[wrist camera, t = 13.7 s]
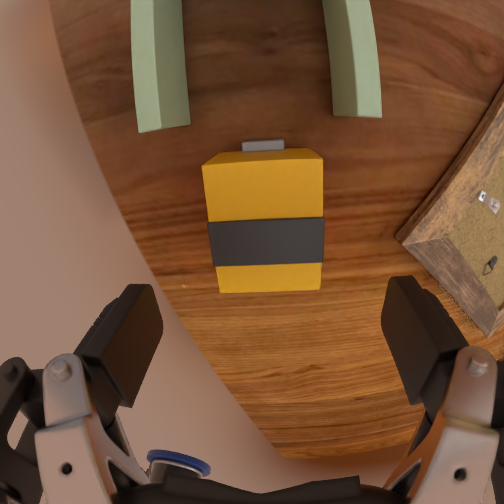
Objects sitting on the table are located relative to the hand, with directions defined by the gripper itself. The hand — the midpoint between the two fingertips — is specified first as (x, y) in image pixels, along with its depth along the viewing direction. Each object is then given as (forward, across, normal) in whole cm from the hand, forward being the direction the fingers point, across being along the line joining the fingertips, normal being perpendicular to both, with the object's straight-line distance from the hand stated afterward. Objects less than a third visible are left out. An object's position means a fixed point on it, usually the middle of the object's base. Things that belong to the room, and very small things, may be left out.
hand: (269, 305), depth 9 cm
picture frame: (+10, -23, -2) cm, 25 cm away
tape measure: (+10, 0, 0) cm, 10 cm away
